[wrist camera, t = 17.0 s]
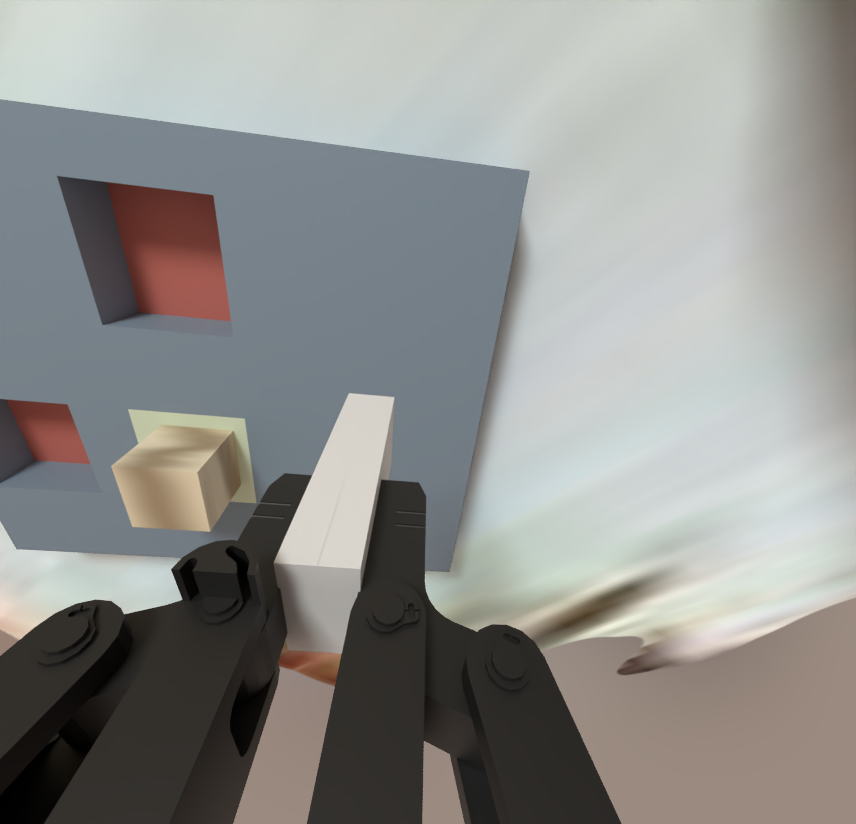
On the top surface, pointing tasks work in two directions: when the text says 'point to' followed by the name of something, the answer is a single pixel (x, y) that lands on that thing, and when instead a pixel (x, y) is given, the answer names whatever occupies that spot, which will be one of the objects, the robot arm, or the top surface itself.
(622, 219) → the top surface
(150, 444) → the maple block
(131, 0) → the top surface
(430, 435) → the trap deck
